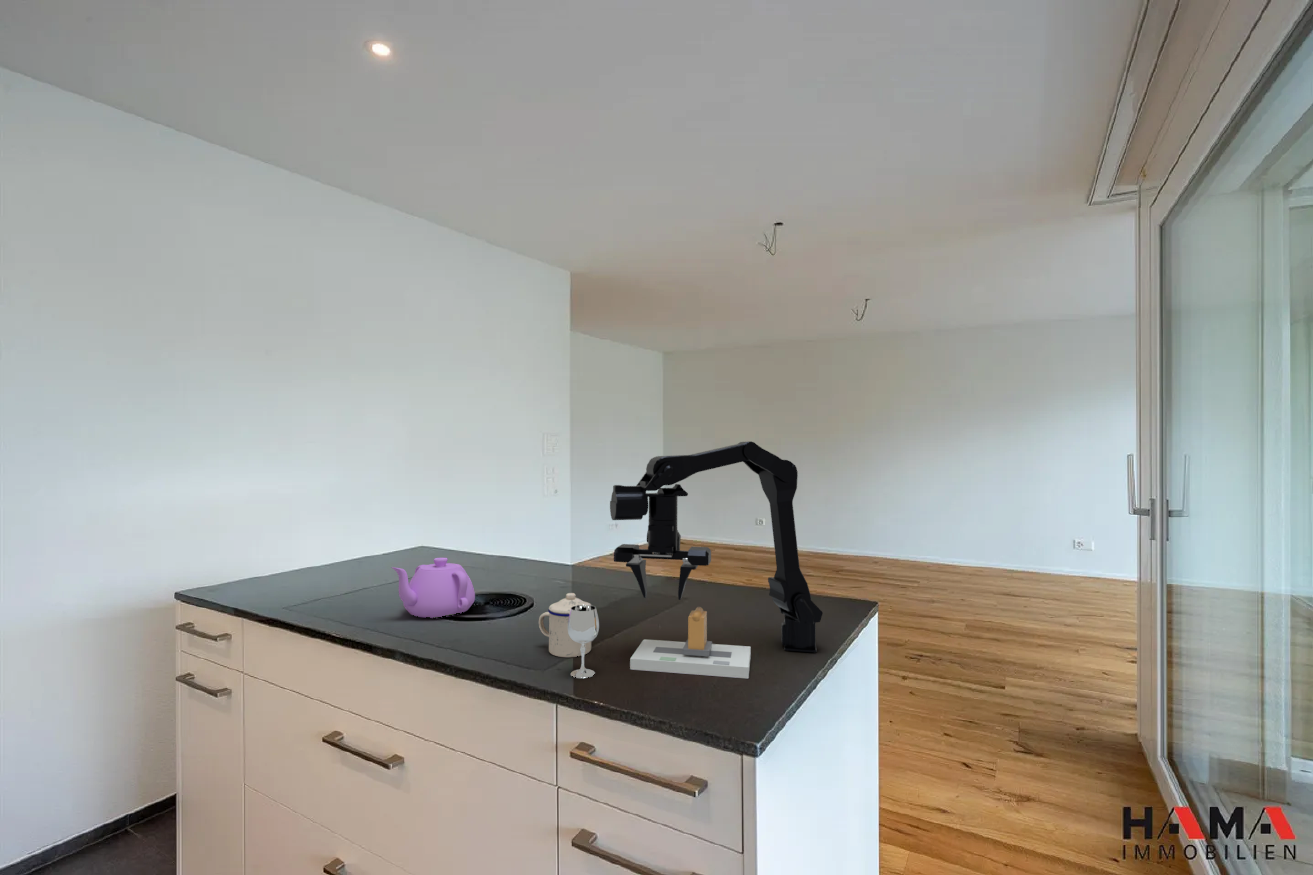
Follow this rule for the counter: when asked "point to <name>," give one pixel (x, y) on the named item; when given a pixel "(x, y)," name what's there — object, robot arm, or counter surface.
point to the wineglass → (583, 632)
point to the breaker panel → (692, 659)
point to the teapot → (436, 589)
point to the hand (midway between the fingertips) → (662, 598)
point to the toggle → (697, 634)
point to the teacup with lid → (562, 628)
